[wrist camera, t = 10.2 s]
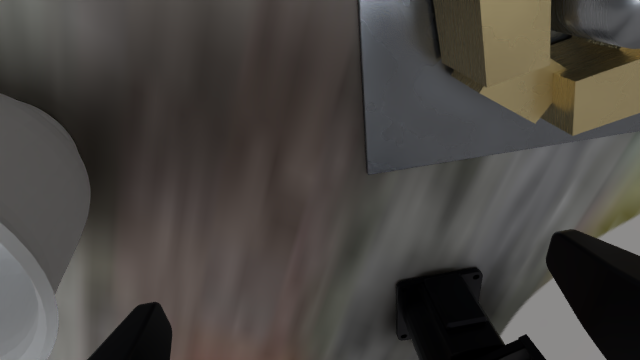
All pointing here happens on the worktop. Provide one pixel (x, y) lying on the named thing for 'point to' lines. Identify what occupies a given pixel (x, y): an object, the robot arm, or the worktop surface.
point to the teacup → (36, 225)
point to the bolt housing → (461, 86)
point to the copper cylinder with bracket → (537, 64)
